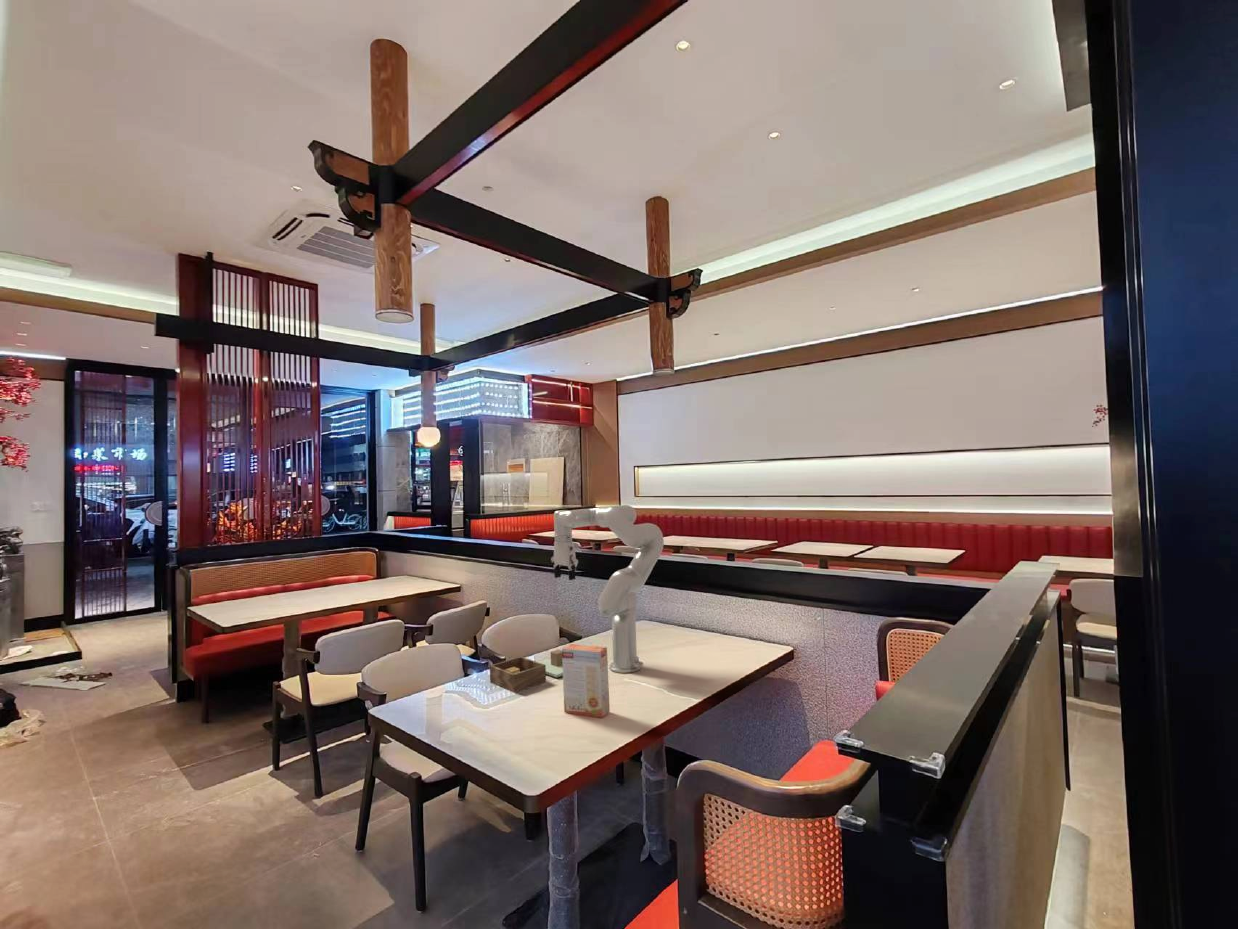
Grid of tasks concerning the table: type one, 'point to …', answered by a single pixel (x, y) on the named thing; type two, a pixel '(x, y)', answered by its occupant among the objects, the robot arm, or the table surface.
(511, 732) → the table surface
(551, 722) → the table surface
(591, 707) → the cracker box
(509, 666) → the crate
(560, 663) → the lid
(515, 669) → the ochre block
